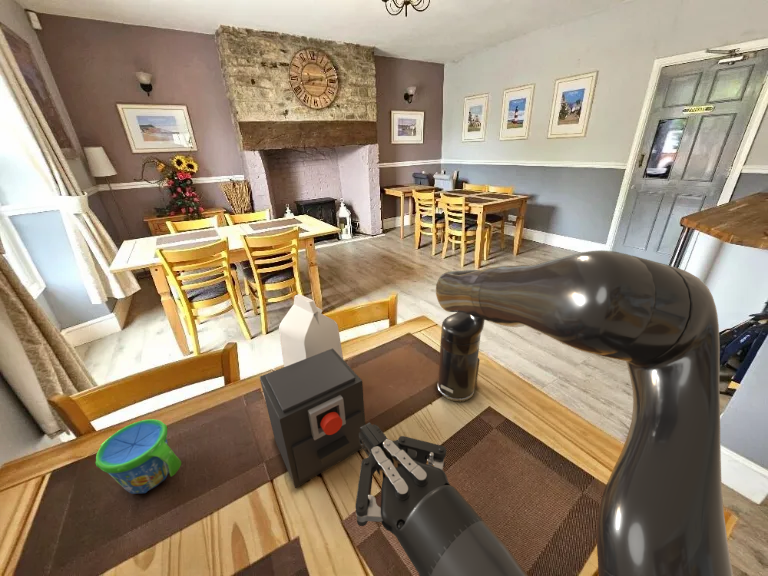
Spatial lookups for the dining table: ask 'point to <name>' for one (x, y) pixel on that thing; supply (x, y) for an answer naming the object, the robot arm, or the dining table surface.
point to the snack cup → (138, 456)
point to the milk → (307, 332)
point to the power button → (331, 423)
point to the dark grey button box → (314, 413)
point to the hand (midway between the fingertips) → (364, 429)
